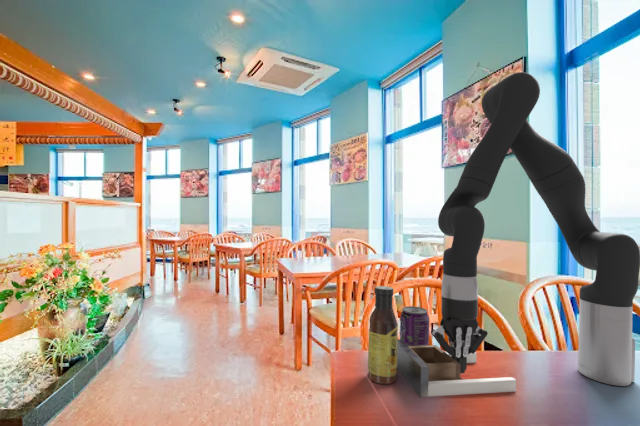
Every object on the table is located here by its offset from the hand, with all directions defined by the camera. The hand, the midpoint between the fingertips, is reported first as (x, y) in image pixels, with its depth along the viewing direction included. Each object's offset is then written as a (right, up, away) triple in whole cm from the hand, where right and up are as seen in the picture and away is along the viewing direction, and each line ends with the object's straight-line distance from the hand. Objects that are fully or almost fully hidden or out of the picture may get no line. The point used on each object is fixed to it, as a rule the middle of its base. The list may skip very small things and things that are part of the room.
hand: (458, 371), depth 72 cm
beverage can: (-7, -1, +10) cm, 12 cm away
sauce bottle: (-18, -1, -2) cm, 18 cm away
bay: (-2, -1, 0) cm, 2 cm away
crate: (-7, -1, -1) cm, 7 cm away
